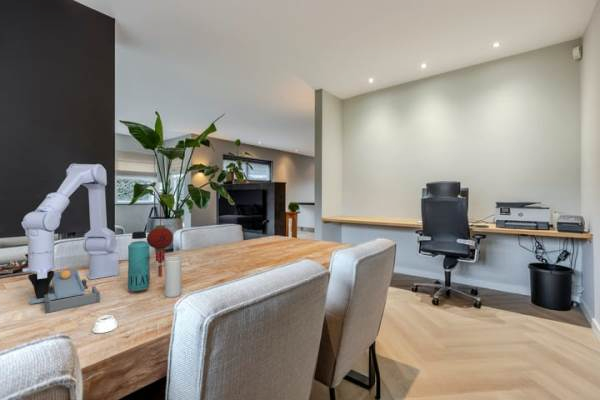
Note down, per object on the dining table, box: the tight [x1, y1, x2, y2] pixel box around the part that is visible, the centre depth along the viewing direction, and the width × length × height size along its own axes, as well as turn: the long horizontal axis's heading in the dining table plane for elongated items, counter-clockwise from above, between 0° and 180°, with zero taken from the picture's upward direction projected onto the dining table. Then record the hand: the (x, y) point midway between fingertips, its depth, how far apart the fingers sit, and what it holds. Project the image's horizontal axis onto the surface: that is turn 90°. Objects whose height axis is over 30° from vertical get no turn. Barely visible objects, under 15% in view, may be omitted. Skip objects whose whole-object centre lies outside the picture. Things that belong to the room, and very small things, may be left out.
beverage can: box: [164, 256, 182, 299], centre depth 90 cm, size 5×5×12 cm
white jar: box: [91, 314, 119, 334], centre depth 67 cm, size 5×3×5 cm
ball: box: [60, 269, 71, 279], centre depth 98 cm, size 3×3×3 cm
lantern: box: [146, 200, 174, 278], centre depth 110 cm, size 10×10×30 cm
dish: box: [44, 285, 101, 314], centre depth 83 cm, size 12×9×3 cm
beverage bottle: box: [127, 231, 151, 292], centre depth 93 cm, size 6×7×20 cm
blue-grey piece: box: [29, 269, 86, 305], centre depth 91 cm, size 13×18×3 cm
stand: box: [47, 278, 89, 294], centre depth 93 cm, size 10×4×3 cm, turn 134°
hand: (41, 297), depth 83 cm, fingers closed, pressing on blue-grey piece
